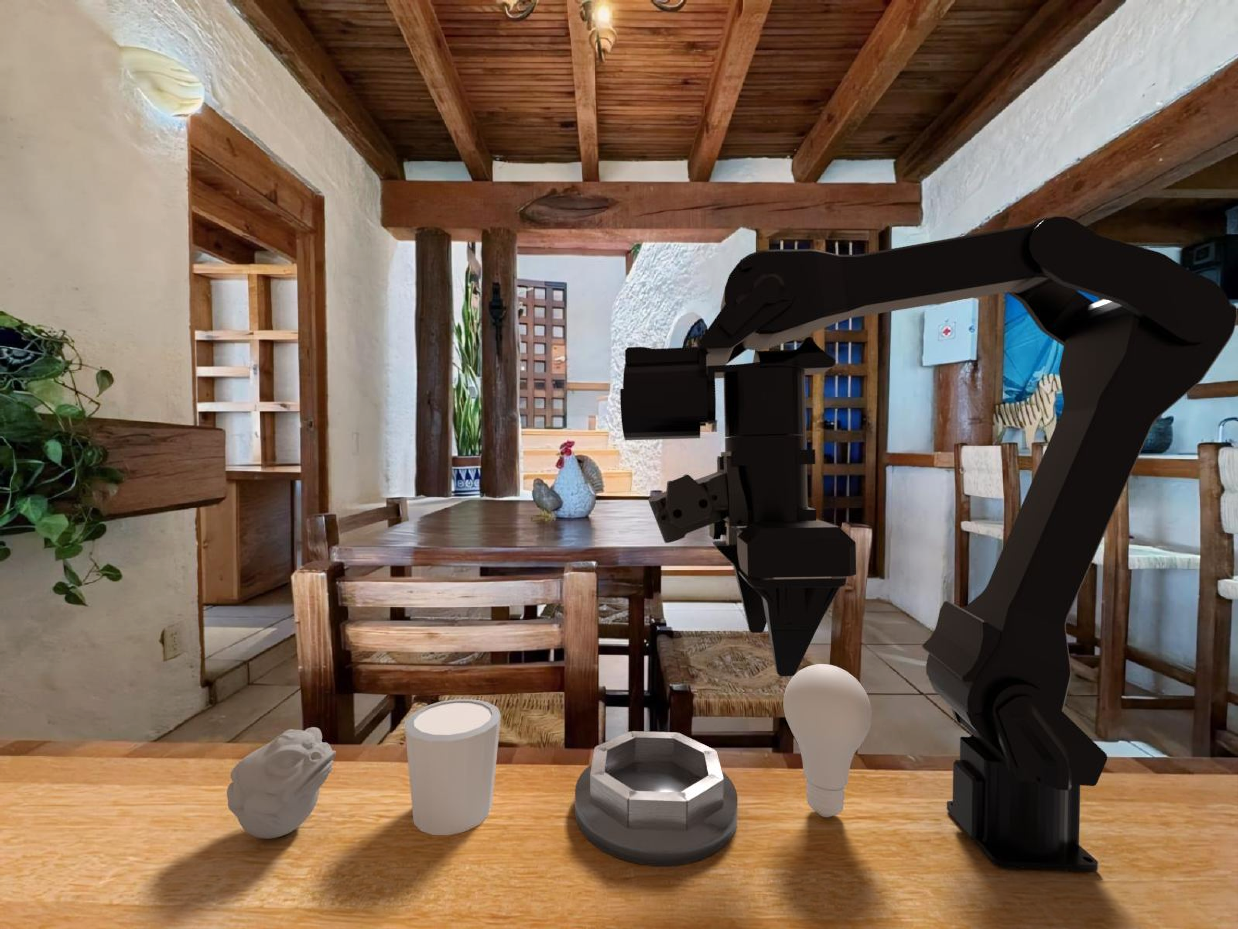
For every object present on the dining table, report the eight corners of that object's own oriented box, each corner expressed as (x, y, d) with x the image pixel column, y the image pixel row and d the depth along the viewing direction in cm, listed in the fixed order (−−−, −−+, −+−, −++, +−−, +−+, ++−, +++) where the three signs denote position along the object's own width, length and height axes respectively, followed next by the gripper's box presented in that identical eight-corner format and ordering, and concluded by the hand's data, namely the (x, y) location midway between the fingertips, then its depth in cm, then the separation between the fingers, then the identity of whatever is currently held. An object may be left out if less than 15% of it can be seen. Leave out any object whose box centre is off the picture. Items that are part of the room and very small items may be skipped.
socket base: (724, 768, 49) (725, 727, 49) (751, 869, 37) (752, 815, 37) (583, 763, 49) (583, 723, 49) (564, 862, 37) (565, 808, 37)
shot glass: (475, 848, 38) (475, 744, 38) (383, 834, 40) (383, 733, 40) (514, 790, 45) (514, 701, 45) (434, 779, 47) (434, 693, 46)
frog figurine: (301, 866, 37) (302, 758, 36) (200, 858, 37) (200, 751, 37) (354, 808, 43) (355, 715, 42) (266, 802, 43) (266, 710, 43)
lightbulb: (794, 841, 39) (796, 682, 39) (773, 789, 46) (775, 651, 45) (884, 844, 39) (887, 684, 39) (851, 791, 45) (853, 653, 45)
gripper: (650, 443, 51) (654, 617, 51) (658, 434, 32) (664, 708, 33) (776, 440, 51) (780, 615, 51) (857, 429, 32) (862, 706, 32)
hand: (769, 651), depth 42 cm, fingers open, 9 cm apart
